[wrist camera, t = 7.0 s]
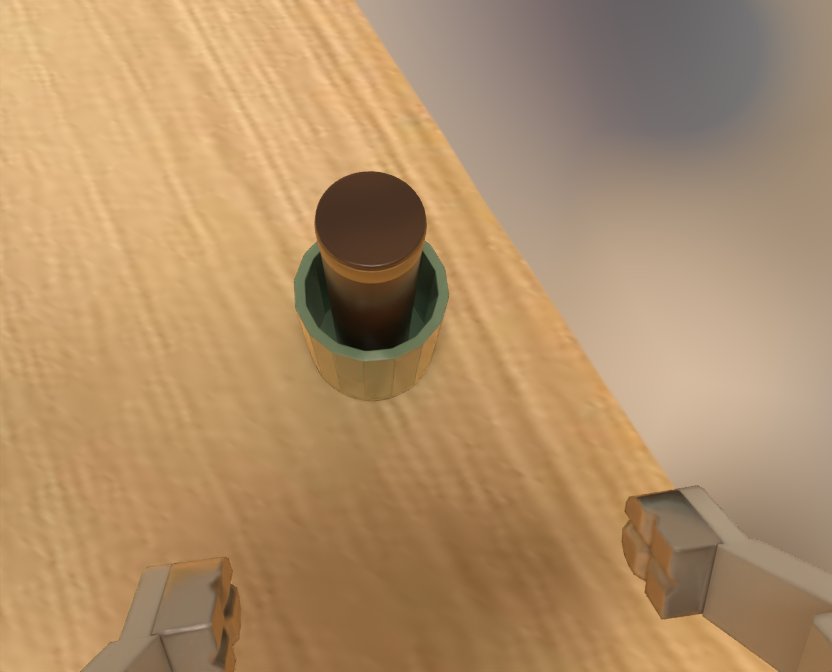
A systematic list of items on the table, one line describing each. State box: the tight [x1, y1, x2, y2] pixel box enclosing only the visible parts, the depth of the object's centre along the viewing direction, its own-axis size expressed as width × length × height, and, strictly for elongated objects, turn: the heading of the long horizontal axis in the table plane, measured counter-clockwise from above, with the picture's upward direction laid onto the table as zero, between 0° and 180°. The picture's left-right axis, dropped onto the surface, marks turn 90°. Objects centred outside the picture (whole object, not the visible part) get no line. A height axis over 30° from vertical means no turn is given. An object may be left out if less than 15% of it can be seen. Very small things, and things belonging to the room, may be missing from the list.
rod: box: [315, 171, 427, 351], centre depth 28 cm, size 4×4×13 cm
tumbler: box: [294, 241, 449, 401], centre depth 31 cm, size 7×7×8 cm
